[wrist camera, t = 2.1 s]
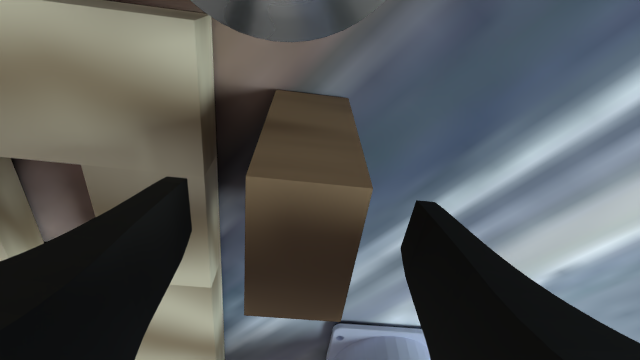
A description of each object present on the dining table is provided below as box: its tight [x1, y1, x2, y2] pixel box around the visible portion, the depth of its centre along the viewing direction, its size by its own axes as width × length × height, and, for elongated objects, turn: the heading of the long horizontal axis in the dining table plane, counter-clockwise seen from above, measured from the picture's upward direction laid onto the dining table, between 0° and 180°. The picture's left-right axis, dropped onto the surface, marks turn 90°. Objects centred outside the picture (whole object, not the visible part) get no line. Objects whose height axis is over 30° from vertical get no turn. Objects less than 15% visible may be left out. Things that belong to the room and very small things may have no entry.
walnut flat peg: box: [244, 90, 373, 322], centre depth 12 cm, size 5×3×7 cm, turn 173°
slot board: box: [0, 0, 225, 360], centre depth 17 cm, size 22×14×2 cm, turn 173°
